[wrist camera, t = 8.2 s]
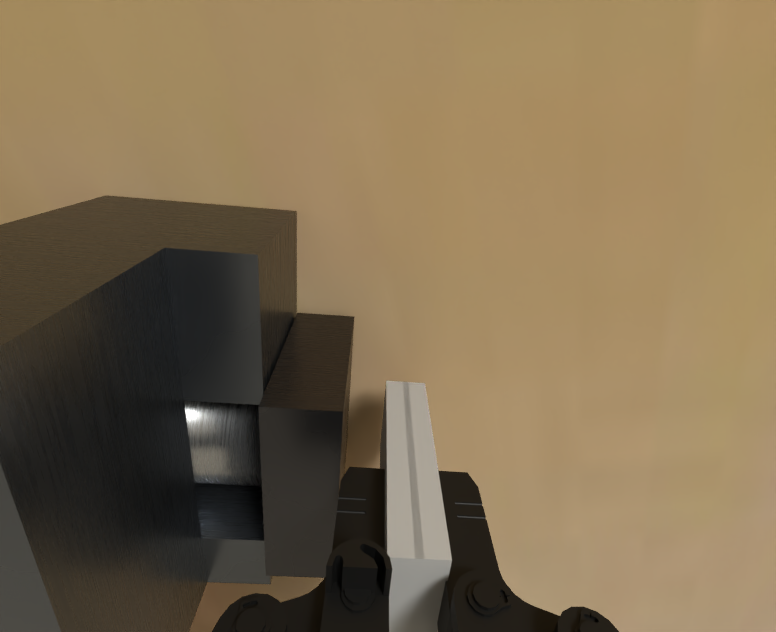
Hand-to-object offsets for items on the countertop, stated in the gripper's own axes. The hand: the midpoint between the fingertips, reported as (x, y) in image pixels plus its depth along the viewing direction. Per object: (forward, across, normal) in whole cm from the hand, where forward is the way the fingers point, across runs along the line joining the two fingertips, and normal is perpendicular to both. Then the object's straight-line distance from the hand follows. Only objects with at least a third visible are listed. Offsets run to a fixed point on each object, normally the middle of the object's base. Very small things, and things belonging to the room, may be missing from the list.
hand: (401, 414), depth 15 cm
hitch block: (+2, -7, +1) cm, 7 cm away
